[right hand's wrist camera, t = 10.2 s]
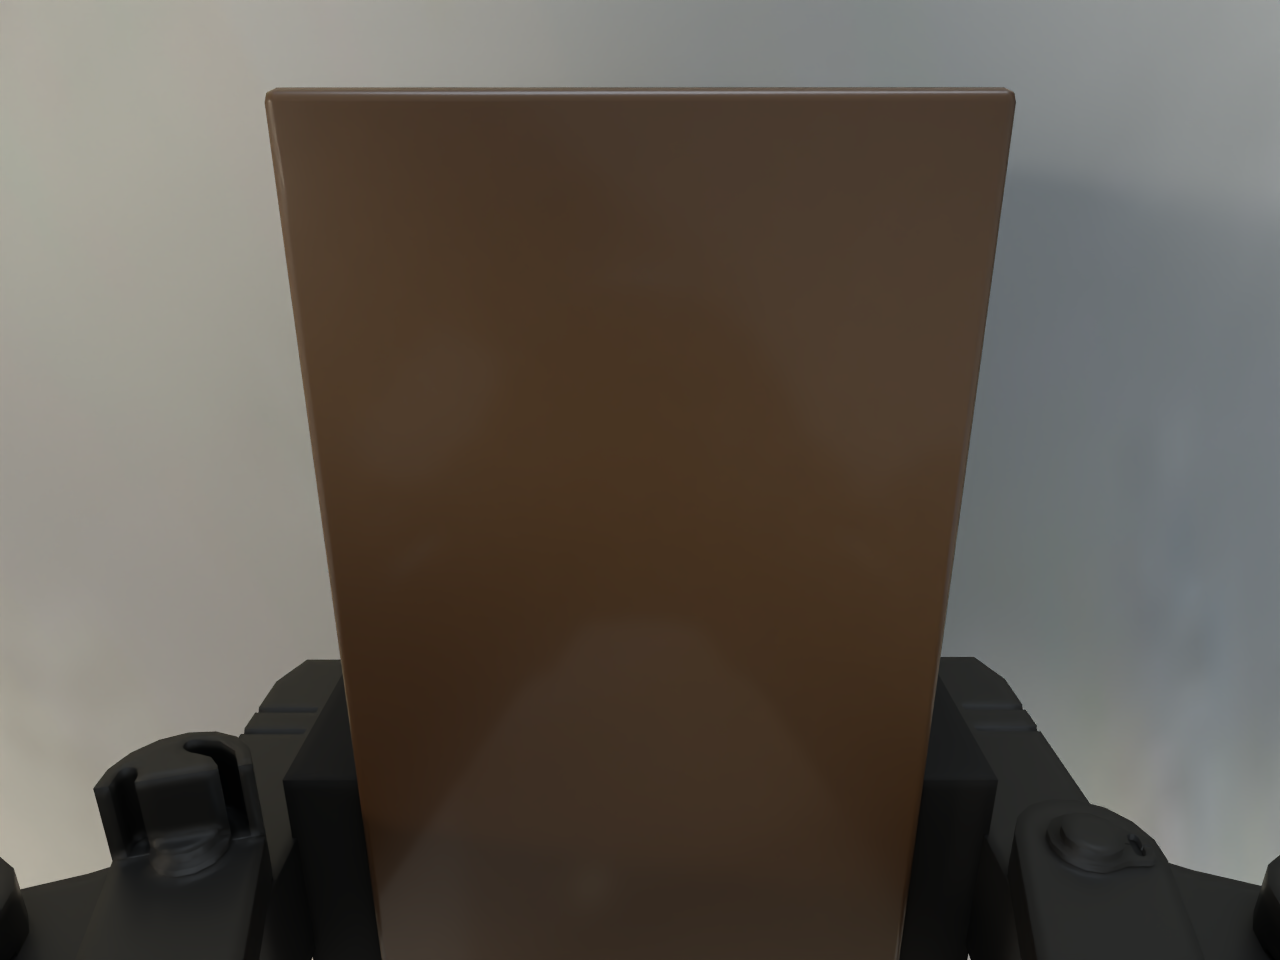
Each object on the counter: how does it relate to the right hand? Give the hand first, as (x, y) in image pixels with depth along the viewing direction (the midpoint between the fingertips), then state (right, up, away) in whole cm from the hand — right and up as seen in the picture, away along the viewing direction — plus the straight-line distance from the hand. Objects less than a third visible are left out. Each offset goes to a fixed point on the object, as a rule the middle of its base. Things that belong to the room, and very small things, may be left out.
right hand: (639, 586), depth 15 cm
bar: (0, -28, +11) cm, 30 cm away
